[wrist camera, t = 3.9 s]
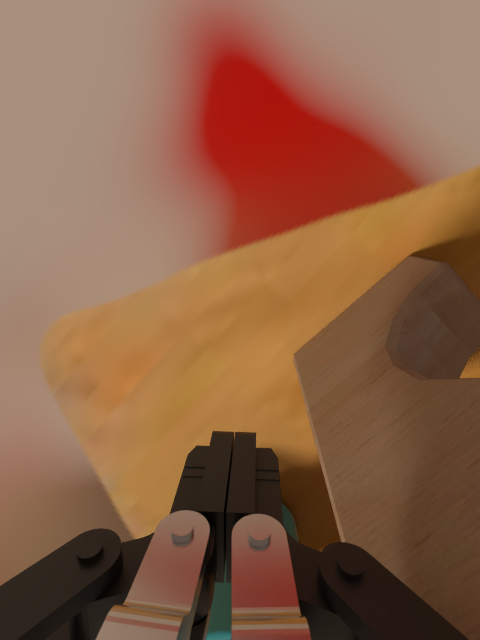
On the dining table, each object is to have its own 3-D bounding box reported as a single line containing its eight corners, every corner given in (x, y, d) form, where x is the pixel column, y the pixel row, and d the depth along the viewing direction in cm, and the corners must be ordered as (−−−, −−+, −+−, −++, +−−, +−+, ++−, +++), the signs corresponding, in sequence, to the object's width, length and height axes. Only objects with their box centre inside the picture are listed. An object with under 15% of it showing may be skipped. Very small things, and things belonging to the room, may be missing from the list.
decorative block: (411, 250, 24) (1048, 371, 5) (460, 311, 25) (1156, 616, 6) (288, 353, 26) (372, 712, 7) (336, 405, 27) (527, 845, 8)
